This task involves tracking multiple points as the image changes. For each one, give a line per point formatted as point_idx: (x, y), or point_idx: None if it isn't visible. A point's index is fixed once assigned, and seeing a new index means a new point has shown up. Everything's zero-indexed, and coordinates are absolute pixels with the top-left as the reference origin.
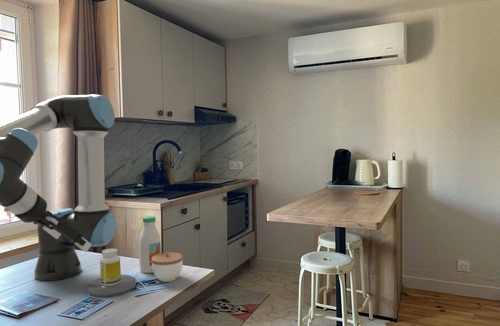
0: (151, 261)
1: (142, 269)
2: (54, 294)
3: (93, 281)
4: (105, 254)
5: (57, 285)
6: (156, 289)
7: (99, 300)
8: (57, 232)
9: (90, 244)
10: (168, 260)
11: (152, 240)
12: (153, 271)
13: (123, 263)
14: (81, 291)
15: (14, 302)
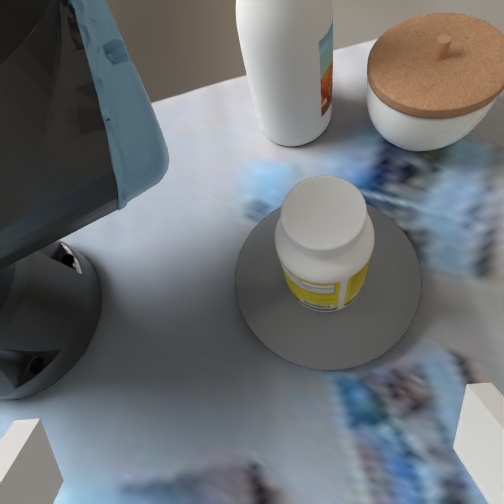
0: (326, 99)
1: (295, 139)
2: (192, 450)
3: (247, 305)
4: (341, 251)
5: (124, 387)
6: (480, 198)
7: (404, 381)
8: (23, 497)
9: (499, 400)
10: (495, 75)
11: (327, 13)
12: (410, 141)
13: None
14: (259, 368)
15: None
